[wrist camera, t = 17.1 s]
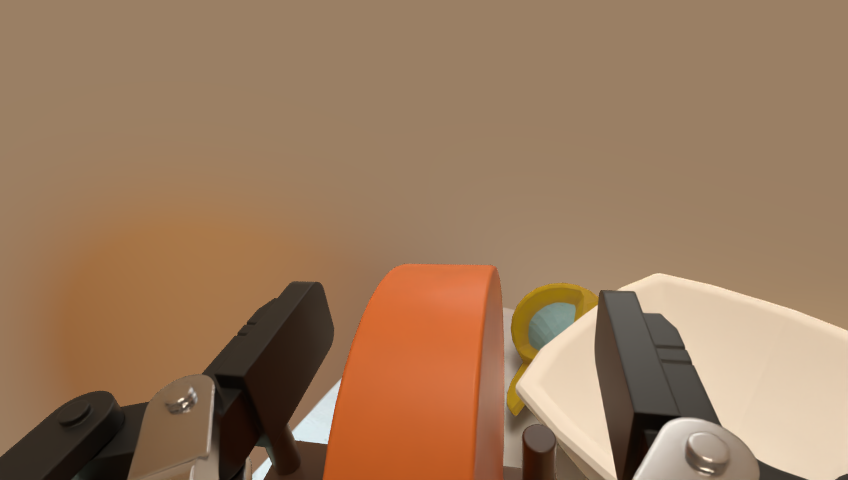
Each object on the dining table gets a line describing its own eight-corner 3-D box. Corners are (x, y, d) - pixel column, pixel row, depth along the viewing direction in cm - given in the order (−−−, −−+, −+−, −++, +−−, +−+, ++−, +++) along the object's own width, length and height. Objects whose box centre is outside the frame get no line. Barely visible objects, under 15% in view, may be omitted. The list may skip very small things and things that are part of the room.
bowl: (493, 520, 32) (485, 386, 25) (632, 382, 42) (652, 259, 35) (814, 864, 18) (973, 764, 12) (909, 538, 28) (1024, 386, 22)
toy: (577, 221, 51) (489, 302, 55) (605, 258, 32) (467, 376, 37) (638, 280, 51) (543, 356, 55) (702, 352, 32) (550, 460, 36)
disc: (488, 807, 9) (451, 564, 4) (377, 772, 9) (245, 527, 5) (506, 429, 16) (500, 204, 12) (445, 422, 17) (417, 206, 13)
